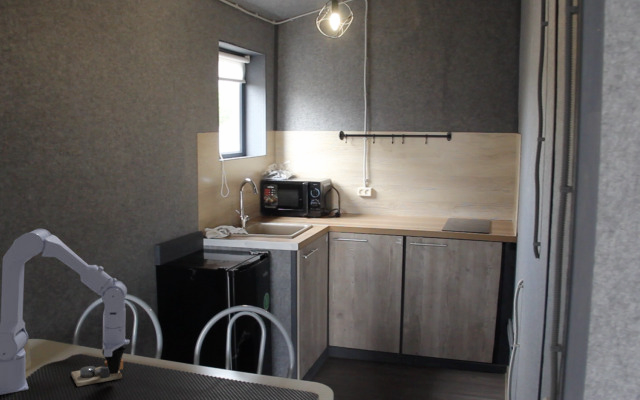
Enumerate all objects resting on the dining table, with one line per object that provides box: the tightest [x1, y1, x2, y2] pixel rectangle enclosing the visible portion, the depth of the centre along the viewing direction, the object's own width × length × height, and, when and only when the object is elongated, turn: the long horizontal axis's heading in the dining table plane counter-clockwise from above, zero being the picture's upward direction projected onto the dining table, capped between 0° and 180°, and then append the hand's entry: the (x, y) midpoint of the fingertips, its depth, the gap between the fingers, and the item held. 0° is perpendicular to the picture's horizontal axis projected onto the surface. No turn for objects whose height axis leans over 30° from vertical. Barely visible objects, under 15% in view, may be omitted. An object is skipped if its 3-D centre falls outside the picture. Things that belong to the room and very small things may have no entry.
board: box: [70, 366, 123, 387], centre depth 156 cm, size 12×9×1 cm
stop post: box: [100, 365, 109, 378], centre depth 153 cm, size 2×2×3 cm
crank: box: [79, 358, 124, 378], centre depth 155 cm, size 12×4×3 cm, turn 112°
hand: (114, 372), depth 152 cm, fingers closed
